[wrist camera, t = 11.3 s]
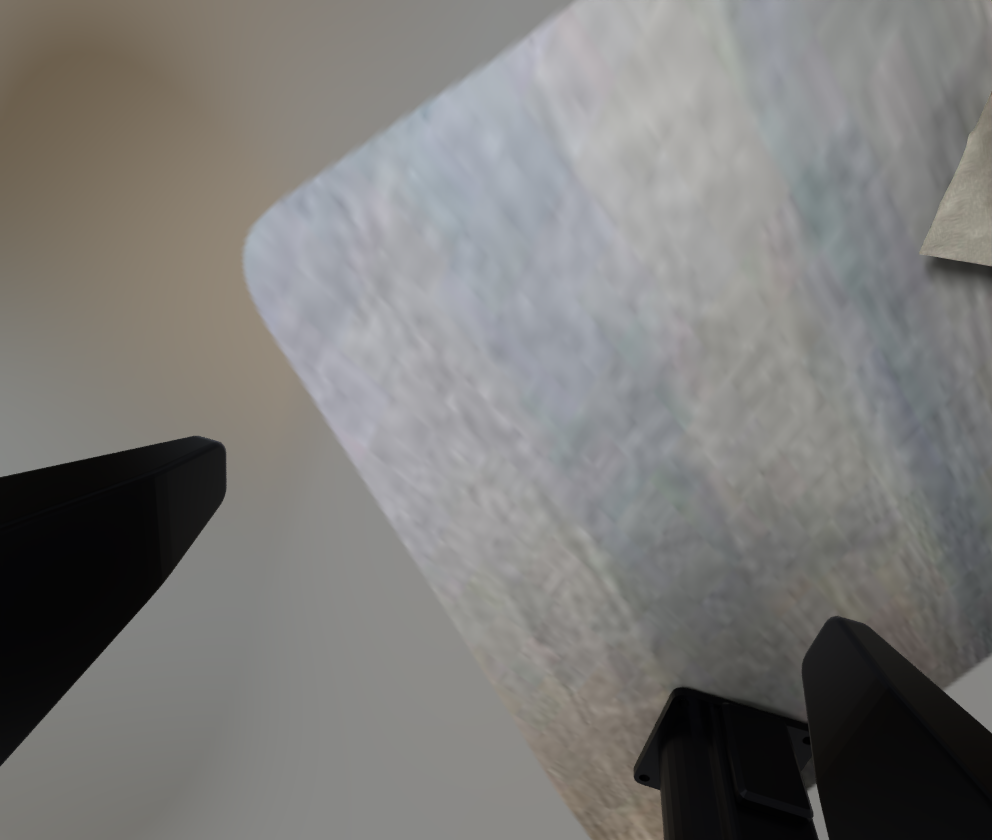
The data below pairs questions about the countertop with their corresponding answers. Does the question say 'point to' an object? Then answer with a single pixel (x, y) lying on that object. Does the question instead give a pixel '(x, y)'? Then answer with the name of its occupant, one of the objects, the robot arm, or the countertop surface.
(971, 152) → the condiment
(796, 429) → the countertop surface
